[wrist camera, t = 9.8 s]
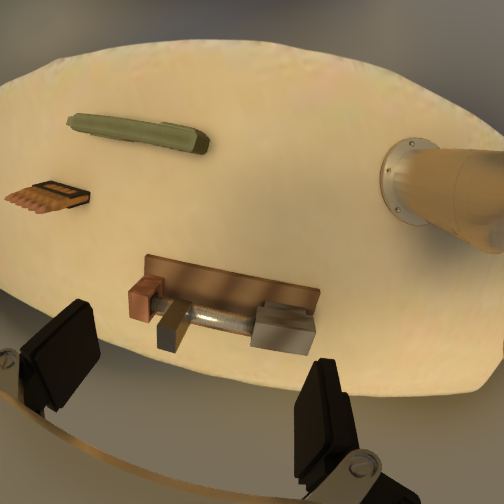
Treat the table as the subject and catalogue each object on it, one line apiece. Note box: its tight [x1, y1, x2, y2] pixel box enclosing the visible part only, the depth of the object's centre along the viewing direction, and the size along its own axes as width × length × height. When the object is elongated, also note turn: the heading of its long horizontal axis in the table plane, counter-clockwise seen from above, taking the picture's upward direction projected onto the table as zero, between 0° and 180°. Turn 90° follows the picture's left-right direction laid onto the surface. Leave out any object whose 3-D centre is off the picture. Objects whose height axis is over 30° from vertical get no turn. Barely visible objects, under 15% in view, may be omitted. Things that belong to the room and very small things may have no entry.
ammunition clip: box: [4, 181, 90, 214], centre depth 32 cm, size 11×2×12 cm, turn 73°
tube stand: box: [128, 254, 320, 356], centre depth 38 cm, size 26×10×7 cm, turn 80°
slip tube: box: [150, 294, 256, 353], centre depth 34 cm, size 20×4×8 cm, turn 79°
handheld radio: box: [66, 113, 210, 155], centre depth 31 cm, size 7×3×25 cm
